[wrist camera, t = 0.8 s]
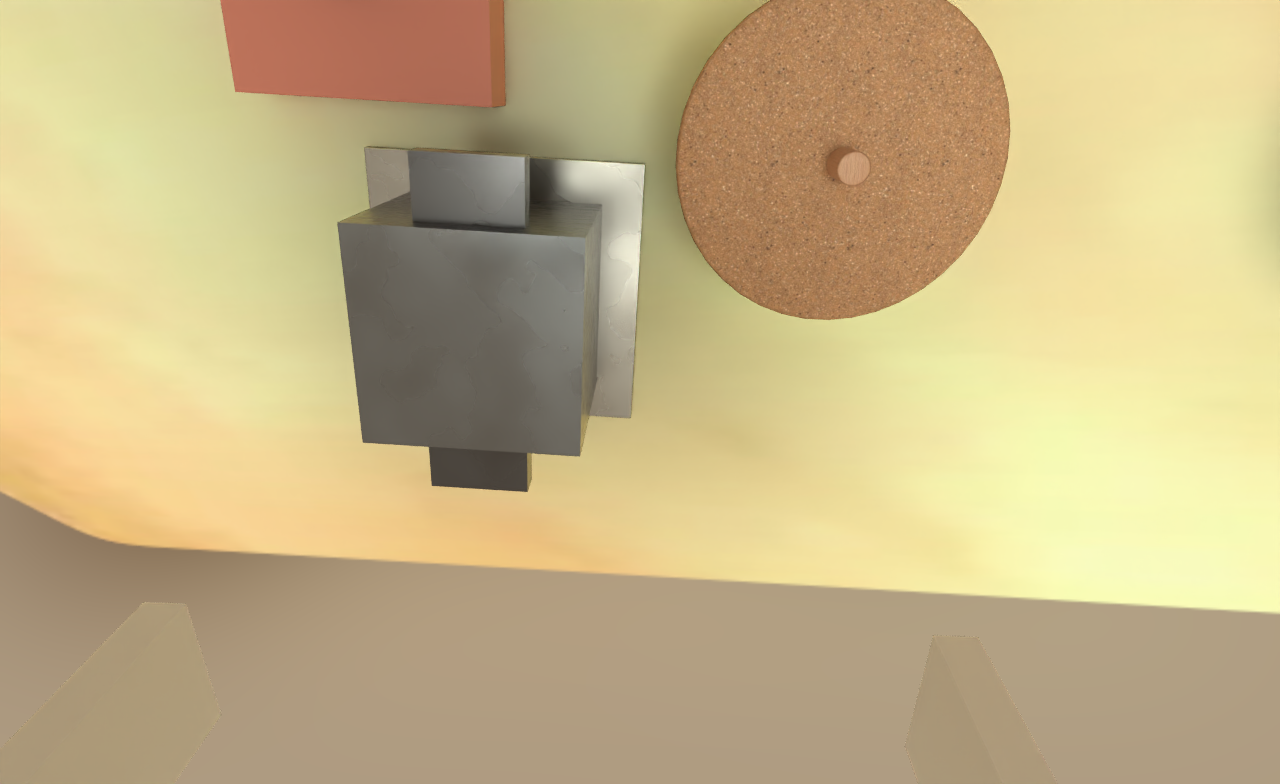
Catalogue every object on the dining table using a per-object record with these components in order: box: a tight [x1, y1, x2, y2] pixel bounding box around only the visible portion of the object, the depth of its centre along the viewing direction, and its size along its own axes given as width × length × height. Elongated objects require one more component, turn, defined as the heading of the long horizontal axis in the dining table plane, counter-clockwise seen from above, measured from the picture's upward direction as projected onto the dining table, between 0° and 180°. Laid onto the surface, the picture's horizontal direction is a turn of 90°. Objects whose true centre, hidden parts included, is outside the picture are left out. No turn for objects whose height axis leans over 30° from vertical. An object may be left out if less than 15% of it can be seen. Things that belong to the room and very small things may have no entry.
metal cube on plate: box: [337, 147, 645, 492], centre depth 29 cm, size 13×12×8 cm
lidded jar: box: [676, 0, 1010, 320], centre depth 26 cm, size 11×11×9 cm
